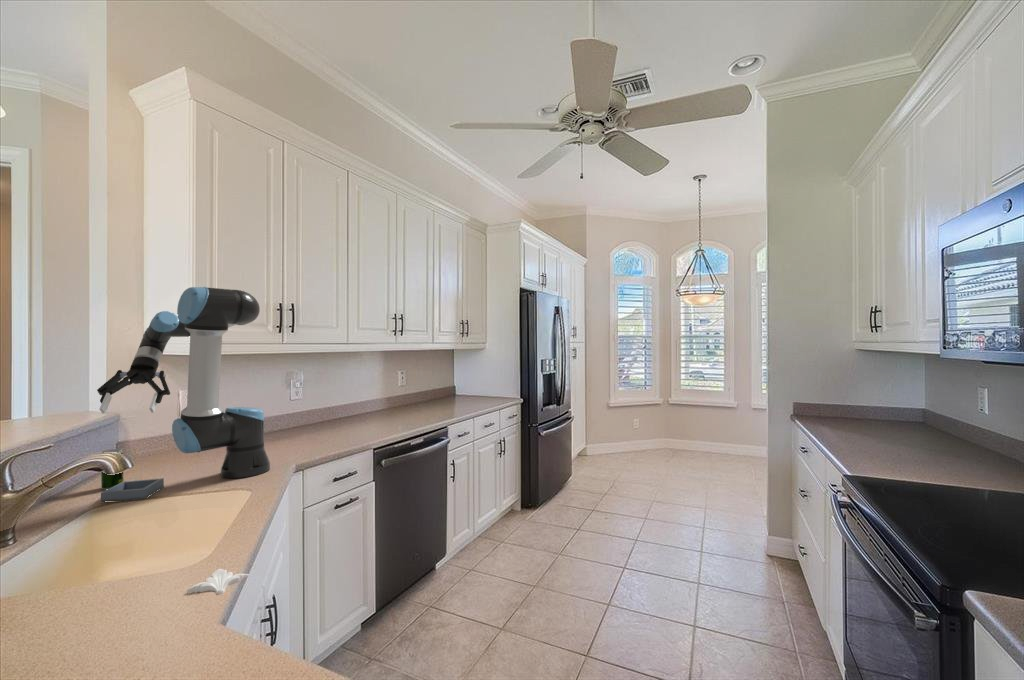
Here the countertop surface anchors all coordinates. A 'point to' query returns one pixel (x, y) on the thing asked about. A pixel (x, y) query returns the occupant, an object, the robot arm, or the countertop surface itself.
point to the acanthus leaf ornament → (217, 582)
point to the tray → (132, 490)
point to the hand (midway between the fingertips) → (127, 410)
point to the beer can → (111, 480)
